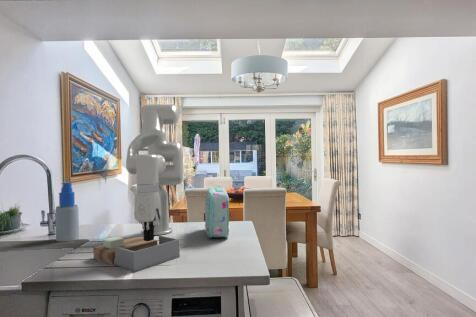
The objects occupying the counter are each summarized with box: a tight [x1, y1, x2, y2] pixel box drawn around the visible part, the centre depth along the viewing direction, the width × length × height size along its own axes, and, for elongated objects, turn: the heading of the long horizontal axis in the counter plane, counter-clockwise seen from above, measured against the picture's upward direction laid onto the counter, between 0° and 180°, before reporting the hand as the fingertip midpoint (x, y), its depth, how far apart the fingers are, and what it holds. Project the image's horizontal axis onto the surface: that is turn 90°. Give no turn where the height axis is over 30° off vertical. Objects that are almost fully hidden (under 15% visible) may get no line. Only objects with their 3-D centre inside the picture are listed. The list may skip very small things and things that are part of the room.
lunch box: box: [203, 185, 230, 238], centre depth 141 cm, size 27×10×21 cm, turn 9°
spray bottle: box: [54, 182, 80, 242], centre depth 137 cm, size 9×9×25 cm
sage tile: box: [102, 236, 125, 249], centre depth 108 cm, size 5×5×2 cm
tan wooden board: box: [93, 236, 159, 266], centre depth 111 cm, size 12×18×4 cm, turn 143°
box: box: [114, 235, 181, 273], centre depth 103 cm, size 11×18×6 cm, turn 143°
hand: (148, 240), depth 110 cm, fingers closed
